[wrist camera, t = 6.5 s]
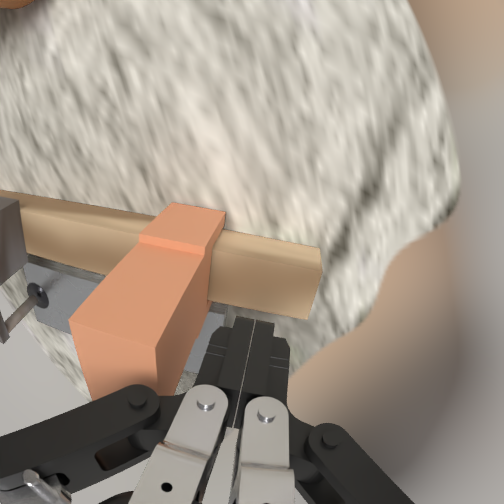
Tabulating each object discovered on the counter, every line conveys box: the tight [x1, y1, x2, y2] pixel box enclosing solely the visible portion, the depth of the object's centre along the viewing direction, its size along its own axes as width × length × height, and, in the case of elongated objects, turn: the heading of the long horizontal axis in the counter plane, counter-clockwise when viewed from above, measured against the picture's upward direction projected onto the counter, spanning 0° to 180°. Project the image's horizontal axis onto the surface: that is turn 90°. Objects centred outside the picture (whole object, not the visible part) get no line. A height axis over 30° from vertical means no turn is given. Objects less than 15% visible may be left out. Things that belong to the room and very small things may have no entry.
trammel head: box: [68, 203, 226, 401], centre depth 15 cm, size 10×3×10 cm, turn 171°
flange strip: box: [23, 254, 228, 374], centre depth 21 cm, size 6×16×1 cm, turn 81°
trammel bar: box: [0, 190, 322, 344], centre depth 17 cm, size 9×24×7 cm, turn 81°
